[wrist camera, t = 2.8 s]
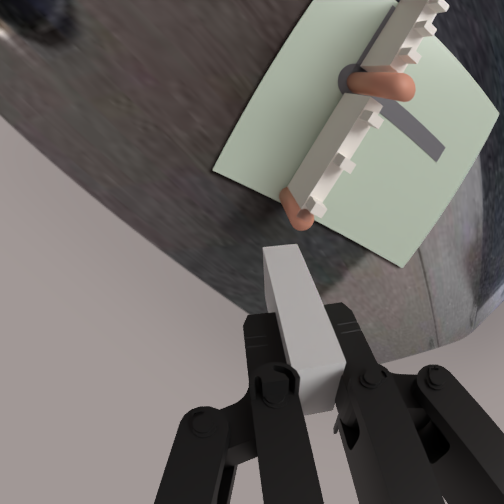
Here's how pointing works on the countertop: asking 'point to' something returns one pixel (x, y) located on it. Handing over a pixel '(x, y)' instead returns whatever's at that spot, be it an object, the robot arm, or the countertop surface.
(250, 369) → the robot arm
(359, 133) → the swing panel
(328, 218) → the card
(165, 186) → the countertop surface
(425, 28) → the fixed fence
